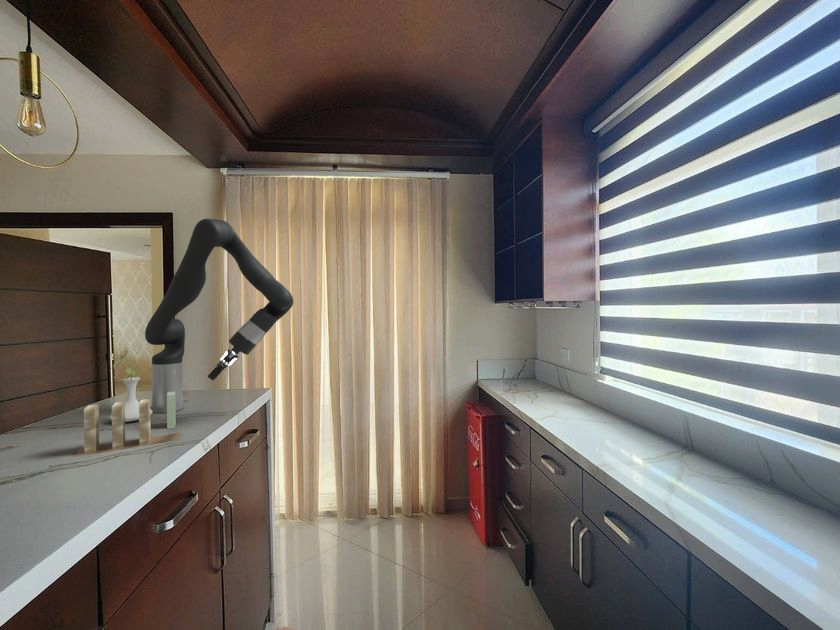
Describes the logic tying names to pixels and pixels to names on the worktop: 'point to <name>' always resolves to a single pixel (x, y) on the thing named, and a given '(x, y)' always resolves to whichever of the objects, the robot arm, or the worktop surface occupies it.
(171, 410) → the green domino
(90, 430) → the end domino
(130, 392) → the flower in vase
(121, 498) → the worktop surface
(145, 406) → the domino
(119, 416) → the domino
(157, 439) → the board
